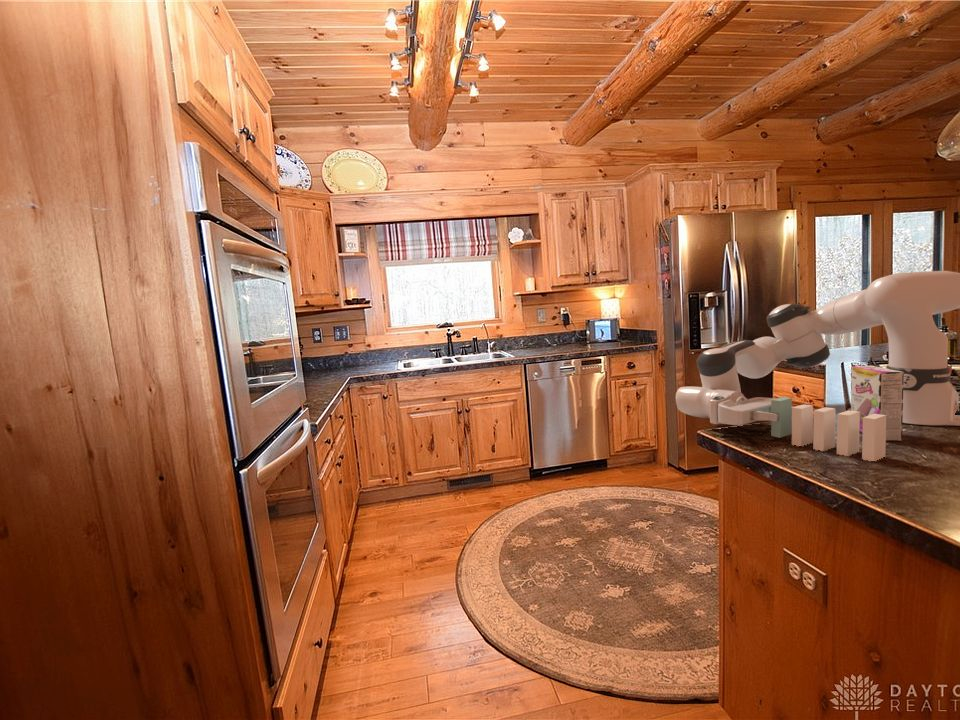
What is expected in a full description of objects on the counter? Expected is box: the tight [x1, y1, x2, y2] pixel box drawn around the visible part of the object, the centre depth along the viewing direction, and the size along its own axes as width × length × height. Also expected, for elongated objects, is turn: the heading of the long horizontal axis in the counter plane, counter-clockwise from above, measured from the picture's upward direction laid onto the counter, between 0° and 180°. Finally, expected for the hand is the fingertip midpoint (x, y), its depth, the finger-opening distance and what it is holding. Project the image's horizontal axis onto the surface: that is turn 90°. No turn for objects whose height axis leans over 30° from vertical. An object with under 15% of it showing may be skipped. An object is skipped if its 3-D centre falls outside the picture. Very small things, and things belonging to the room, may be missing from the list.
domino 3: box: [812, 406, 836, 452], centre depth 100 cm, size 5×2×9 cm, turn 118°
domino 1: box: [770, 396, 793, 439], centre depth 108 cm, size 5×2×9 cm, turn 117°
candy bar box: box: [850, 365, 904, 442], centre depth 106 cm, size 11×5×16 cm, turn 168°
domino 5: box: [861, 414, 887, 462], centre depth 92 cm, size 5×2×9 cm, turn 118°
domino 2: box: [791, 404, 814, 447], centre depth 104 cm, size 5×2×9 cm, turn 118°
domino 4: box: [836, 409, 860, 457], centre depth 96 cm, size 5×2×9 cm, turn 118°
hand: (785, 415), depth 107 cm, fingers closed on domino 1, 5 cm apart
